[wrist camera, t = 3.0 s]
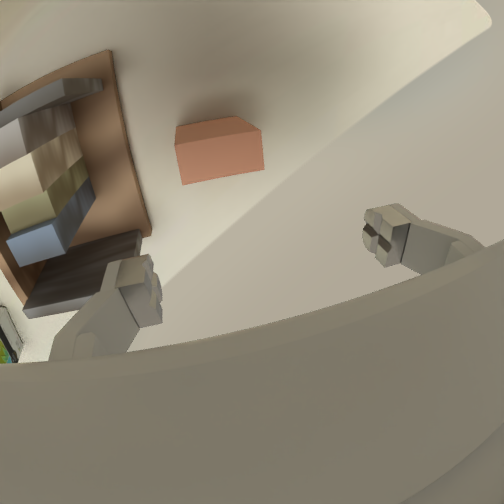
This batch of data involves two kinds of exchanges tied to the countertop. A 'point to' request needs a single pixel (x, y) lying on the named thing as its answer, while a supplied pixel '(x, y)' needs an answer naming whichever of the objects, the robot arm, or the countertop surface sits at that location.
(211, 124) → the terracotta rectangular block
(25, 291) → the rack
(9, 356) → the tea box
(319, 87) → the countertop surface
